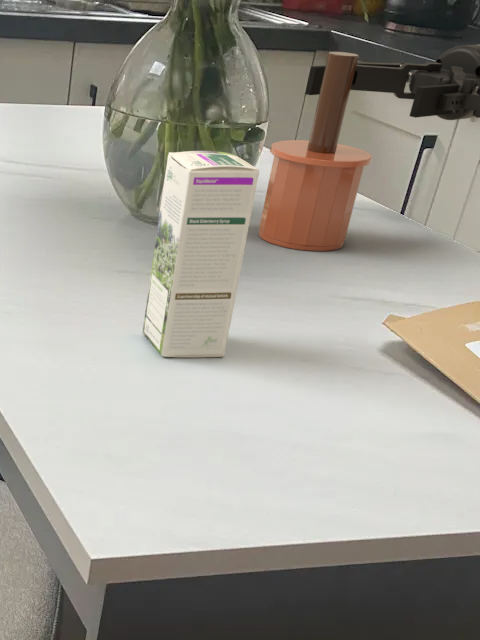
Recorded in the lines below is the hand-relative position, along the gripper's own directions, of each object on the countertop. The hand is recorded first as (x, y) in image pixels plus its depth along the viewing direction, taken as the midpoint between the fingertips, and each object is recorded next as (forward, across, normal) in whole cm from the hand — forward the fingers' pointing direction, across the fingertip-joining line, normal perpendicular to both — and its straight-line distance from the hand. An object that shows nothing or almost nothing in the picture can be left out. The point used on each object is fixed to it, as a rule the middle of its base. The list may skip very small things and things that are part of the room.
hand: (361, 91), depth 114 cm
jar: (+5, 0, -14) cm, 15 cm away
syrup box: (+43, -18, -15) cm, 48 cm away
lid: (+5, 0, -6) cm, 8 cm away
